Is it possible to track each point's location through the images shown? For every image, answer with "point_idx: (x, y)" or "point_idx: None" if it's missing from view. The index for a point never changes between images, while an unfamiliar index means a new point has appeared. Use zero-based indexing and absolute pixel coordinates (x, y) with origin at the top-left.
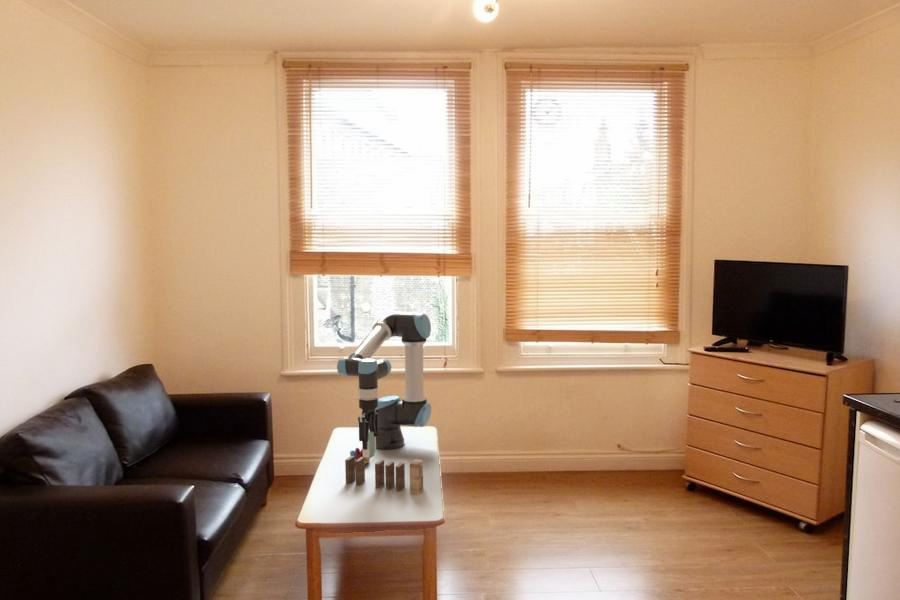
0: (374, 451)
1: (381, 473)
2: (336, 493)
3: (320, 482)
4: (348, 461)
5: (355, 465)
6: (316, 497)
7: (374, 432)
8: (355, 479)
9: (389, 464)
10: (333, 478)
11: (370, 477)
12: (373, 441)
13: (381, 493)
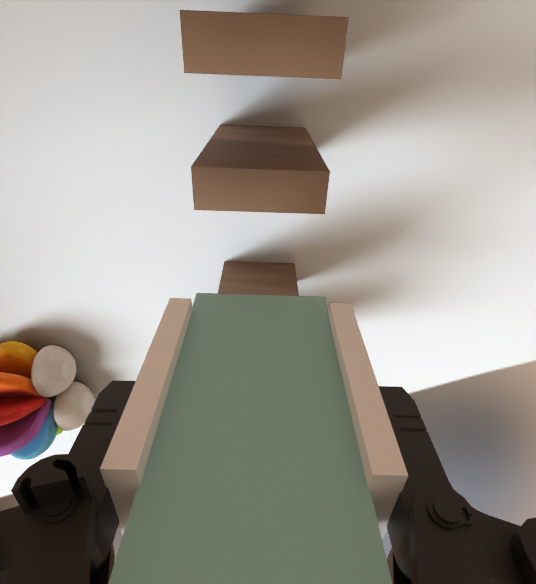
0: (188, 313)
1: (264, 144)
2: (413, 319)
3: None
4: None
5: None
6: (465, 371)
7: (84, 580)
8: None
9: (306, 28)
10: None
11: (167, 253)
12: (173, 417)
13: (381, 70)
